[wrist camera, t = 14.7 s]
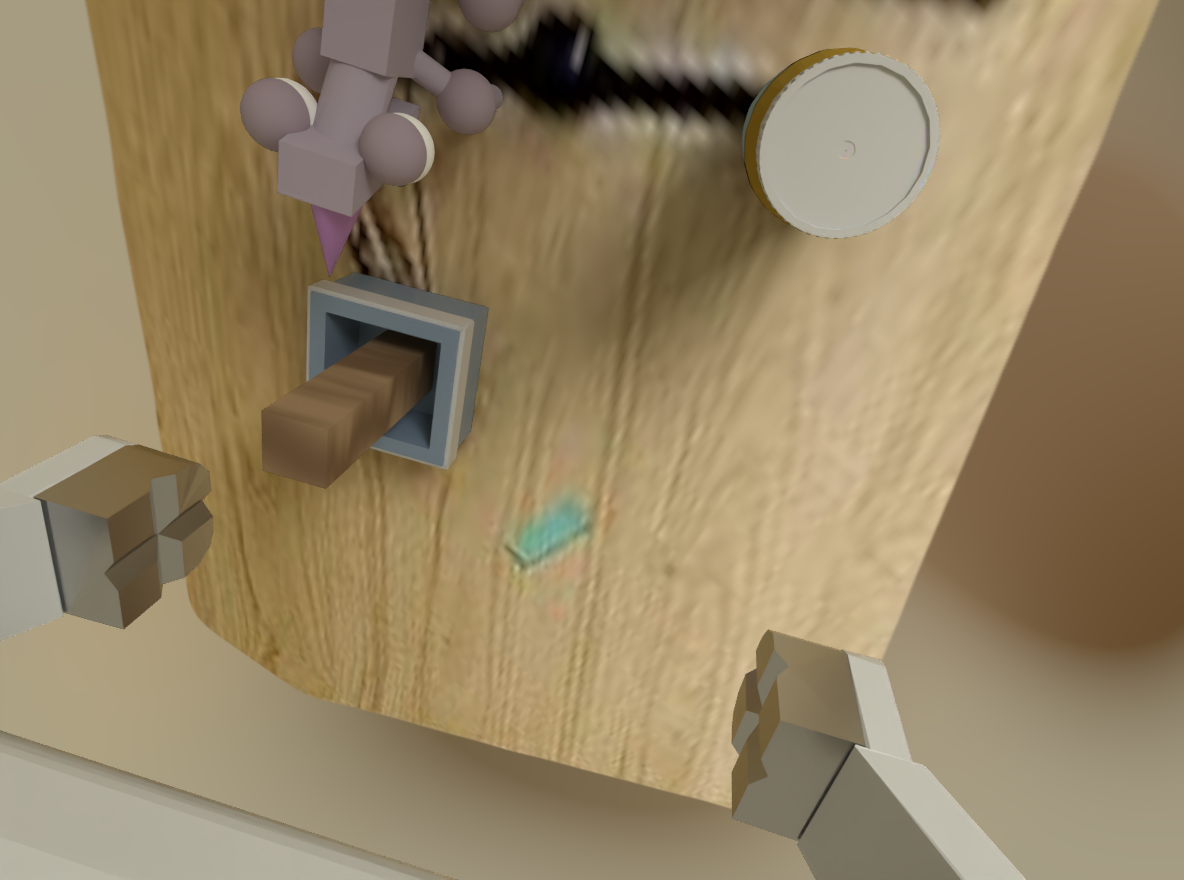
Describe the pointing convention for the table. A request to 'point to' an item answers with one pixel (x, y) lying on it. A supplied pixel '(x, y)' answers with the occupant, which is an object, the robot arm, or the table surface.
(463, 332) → the blue square box
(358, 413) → the brown wooden block
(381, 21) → the mauve toy figure
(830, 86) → the bottle
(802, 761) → the robot arm
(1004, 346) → the table surface
